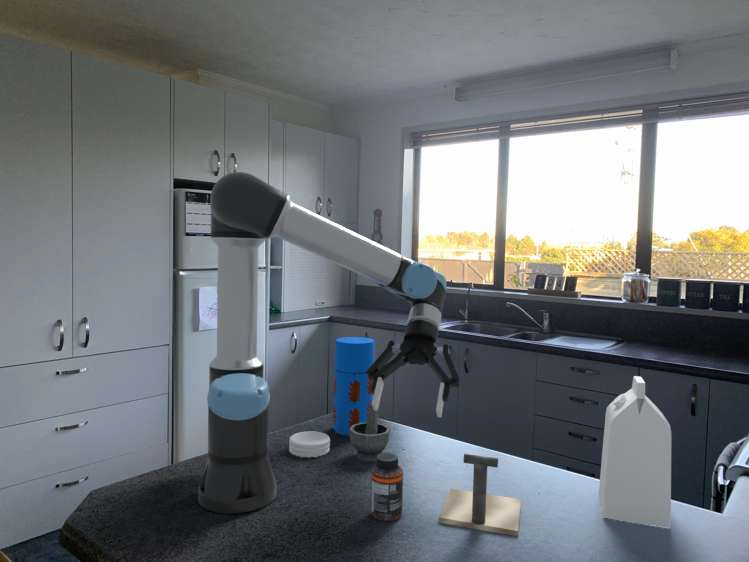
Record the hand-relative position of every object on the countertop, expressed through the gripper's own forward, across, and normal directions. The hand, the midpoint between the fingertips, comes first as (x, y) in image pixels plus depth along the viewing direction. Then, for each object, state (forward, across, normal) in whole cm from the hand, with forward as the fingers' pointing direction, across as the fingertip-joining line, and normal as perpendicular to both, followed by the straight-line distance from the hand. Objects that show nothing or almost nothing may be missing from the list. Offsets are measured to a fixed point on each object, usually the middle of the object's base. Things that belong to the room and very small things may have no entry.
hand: (405, 410), depth 113 cm
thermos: (-10, +23, -34) cm, 42 cm away
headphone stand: (+15, -16, -9) cm, 24 cm away
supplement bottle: (+20, +1, -4) cm, 20 cm away
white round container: (+2, +28, -22) cm, 35 cm away
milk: (+7, -44, -18) cm, 48 cm away
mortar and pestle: (+1, +13, -23) cm, 26 cm away
